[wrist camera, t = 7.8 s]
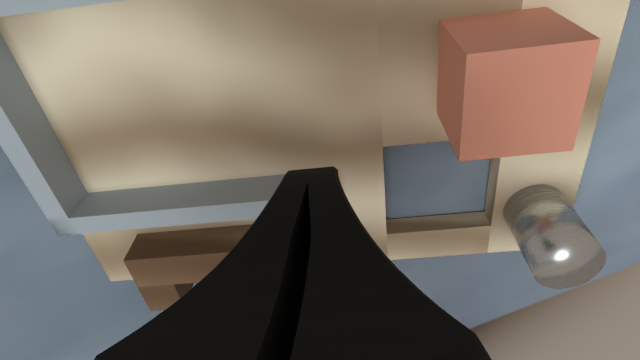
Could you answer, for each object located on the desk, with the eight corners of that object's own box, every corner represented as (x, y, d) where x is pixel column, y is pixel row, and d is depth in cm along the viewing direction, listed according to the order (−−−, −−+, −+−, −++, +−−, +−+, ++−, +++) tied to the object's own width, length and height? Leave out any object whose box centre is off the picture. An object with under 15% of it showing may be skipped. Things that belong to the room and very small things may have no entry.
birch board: (552, 232, 24) (561, 247, 24) (119, 266, 27) (110, 281, 26) (644, -134, 15) (667, -135, 14) (-50, -34, 17) (-73, -28, 16)
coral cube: (530, 102, 19) (573, 150, 15) (436, 112, 19) (459, 161, 16) (546, 6, 16) (600, 38, 13) (439, 19, 17) (466, 54, 13)
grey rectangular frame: (334, 186, 21) (334, 211, 20) (77, 209, 22) (58, 235, 21) (301, -65, 15) (298, -58, 13) (-53, -16, 16) (-95, -4, 15)
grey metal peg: (557, 227, 23) (596, 286, 19) (499, 231, 23) (528, 290, 20) (569, 181, 21) (614, 237, 18) (506, 187, 21) (539, 243, 18)
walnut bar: (293, 273, 25) (291, 301, 23) (161, 283, 26) (150, 310, 24) (281, 221, 23) (278, 248, 21) (137, 233, 23) (123, 260, 22)
